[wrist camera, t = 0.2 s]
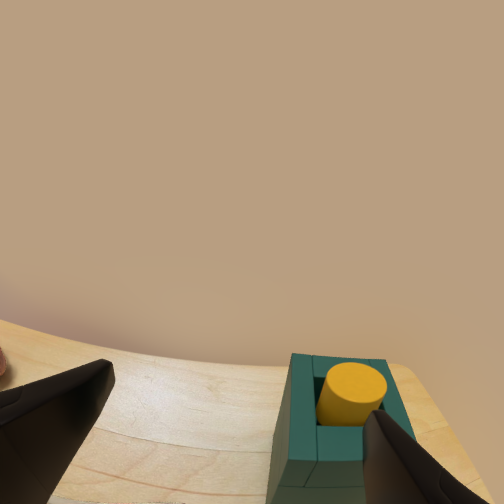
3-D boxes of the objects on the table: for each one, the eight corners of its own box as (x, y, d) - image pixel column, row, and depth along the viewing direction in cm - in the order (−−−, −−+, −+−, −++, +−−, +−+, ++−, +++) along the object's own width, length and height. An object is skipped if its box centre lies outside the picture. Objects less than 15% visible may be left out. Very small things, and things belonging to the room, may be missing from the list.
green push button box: (359, 520, 13) (421, 454, 10) (263, 520, 13) (287, 459, 11) (349, 438, 21) (385, 359, 19) (273, 434, 22) (292, 352, 19)
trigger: (375, 435, 13) (394, 402, 12) (316, 435, 13) (329, 401, 13) (366, 396, 17) (379, 362, 16) (314, 394, 17) (324, 359, 16)
